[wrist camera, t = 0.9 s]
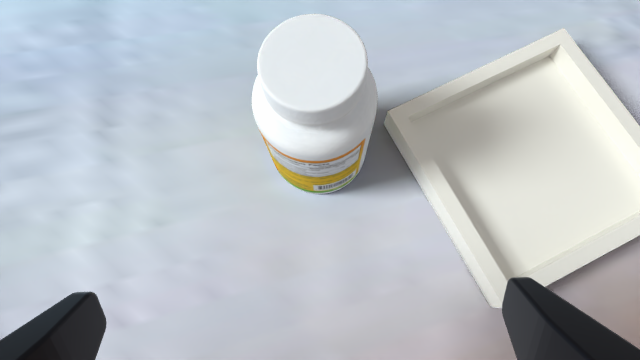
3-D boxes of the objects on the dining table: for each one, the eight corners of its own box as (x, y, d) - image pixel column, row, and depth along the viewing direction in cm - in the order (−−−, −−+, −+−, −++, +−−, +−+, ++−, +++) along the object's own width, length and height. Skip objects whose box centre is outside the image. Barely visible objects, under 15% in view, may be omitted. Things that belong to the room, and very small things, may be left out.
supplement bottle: (300, 95, 25) (282, -25, 15) (380, 132, 24) (413, 30, 14) (256, 170, 23) (207, 89, 14) (339, 212, 23) (345, 156, 13)
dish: (670, 209, 22) (699, 202, 20) (490, 307, 21) (505, 308, 19) (547, 46, 25) (563, 27, 23) (383, 124, 24) (388, 110, 22)
